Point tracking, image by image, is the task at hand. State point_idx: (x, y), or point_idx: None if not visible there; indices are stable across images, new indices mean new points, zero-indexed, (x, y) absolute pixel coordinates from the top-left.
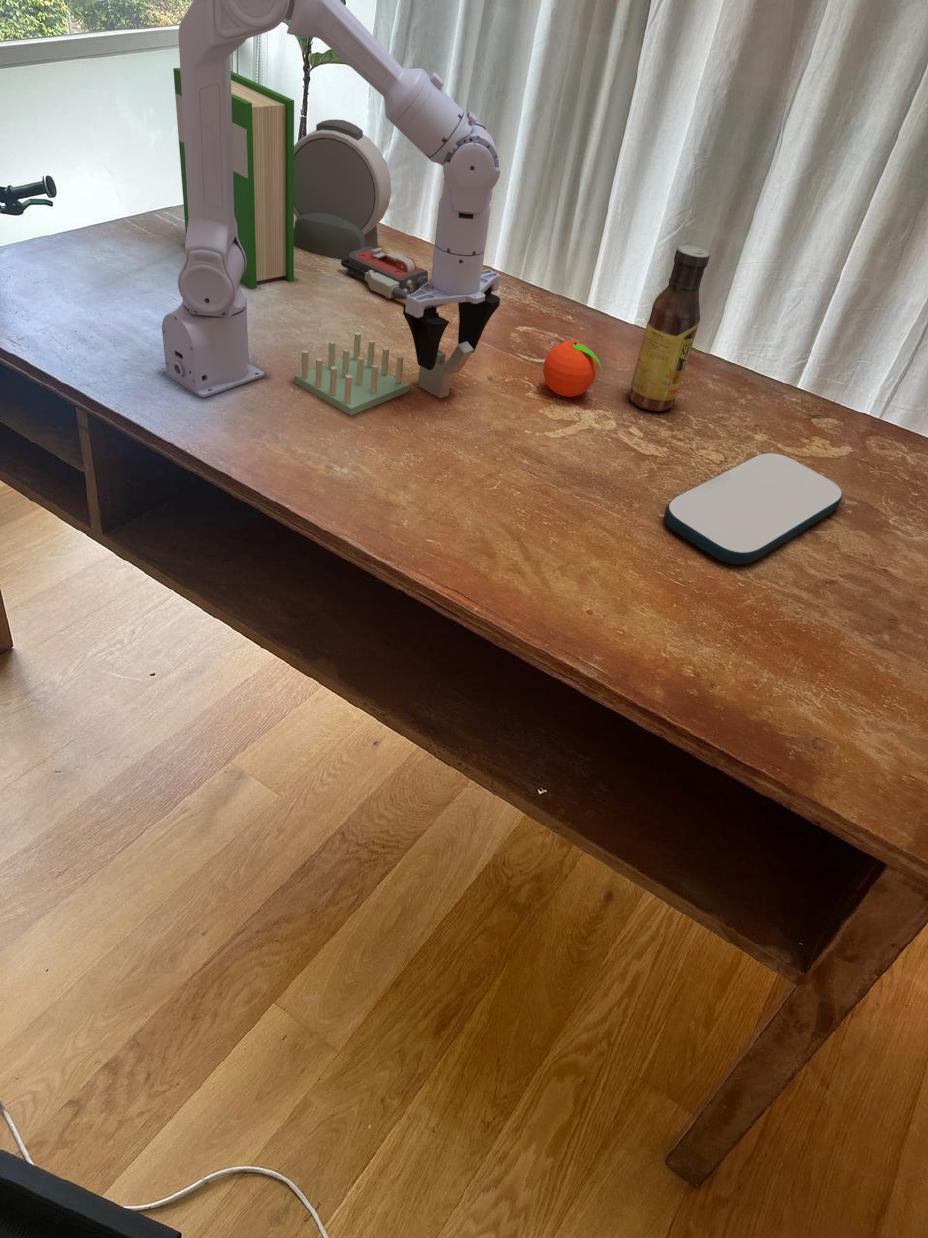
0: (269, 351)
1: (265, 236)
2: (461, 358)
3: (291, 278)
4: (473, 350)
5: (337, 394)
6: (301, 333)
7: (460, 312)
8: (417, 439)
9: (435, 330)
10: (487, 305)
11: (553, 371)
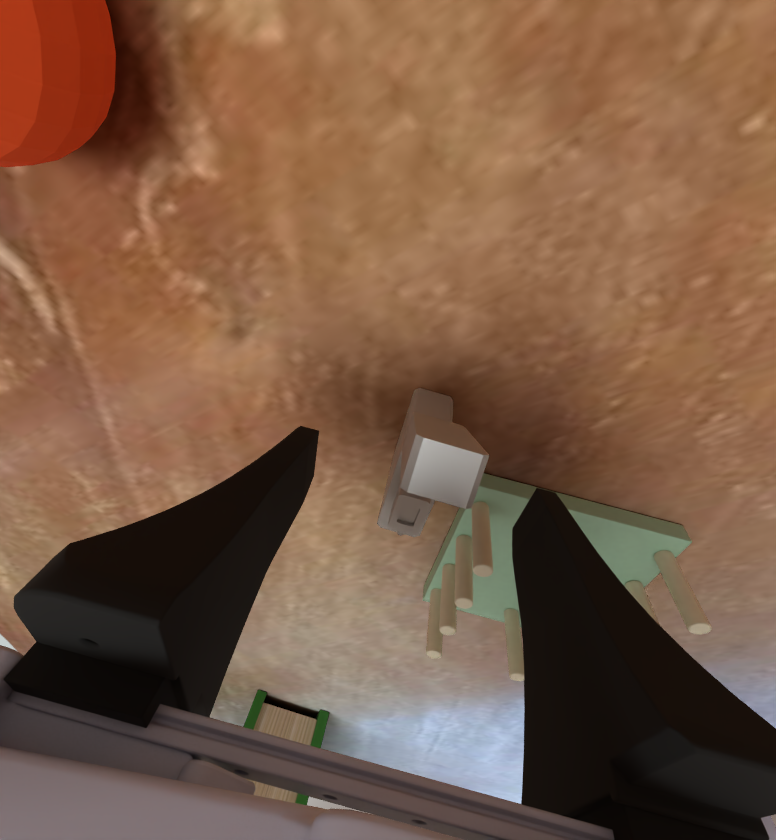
0: (489, 670)
1: (271, 796)
2: (480, 445)
3: (260, 694)
4: (419, 433)
5: (628, 578)
6: (393, 655)
7: (252, 601)
8: (762, 347)
9: (757, 717)
10: (181, 612)
11: (56, 30)
